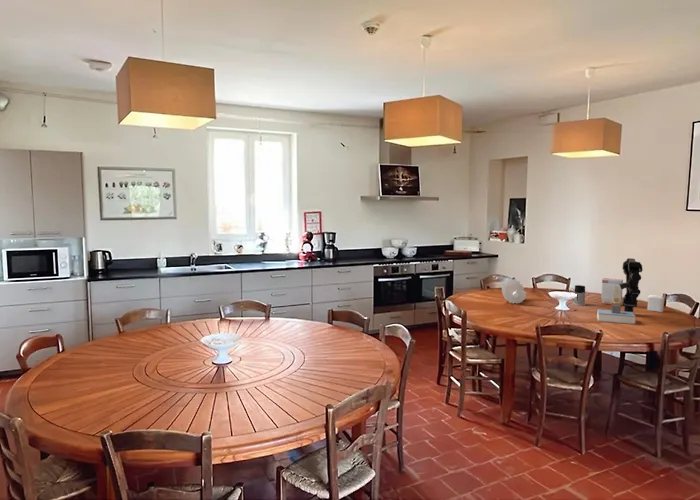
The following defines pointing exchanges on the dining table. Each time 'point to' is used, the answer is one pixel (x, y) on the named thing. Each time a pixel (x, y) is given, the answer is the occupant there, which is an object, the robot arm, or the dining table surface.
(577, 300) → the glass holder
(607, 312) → the box lid
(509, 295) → the white rounded lump
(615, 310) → the block
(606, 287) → the cracker box
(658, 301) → the photo printer
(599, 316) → the storage box
